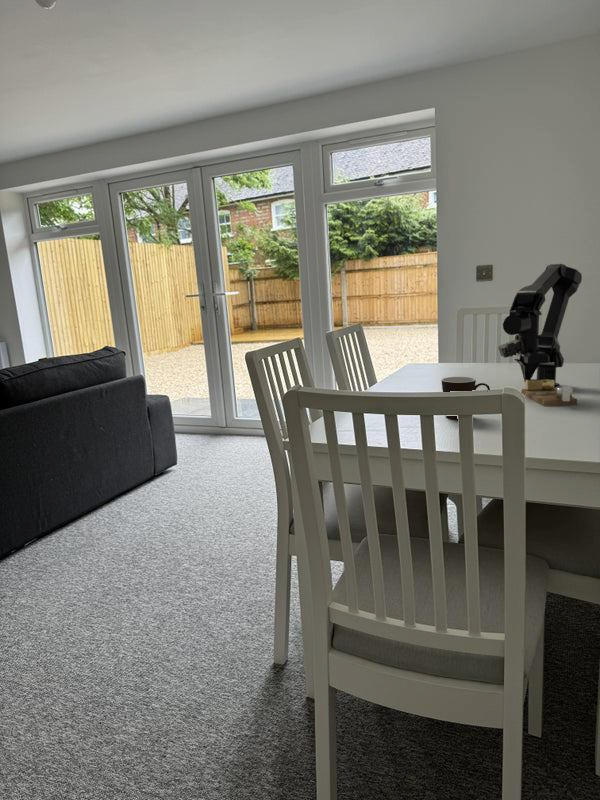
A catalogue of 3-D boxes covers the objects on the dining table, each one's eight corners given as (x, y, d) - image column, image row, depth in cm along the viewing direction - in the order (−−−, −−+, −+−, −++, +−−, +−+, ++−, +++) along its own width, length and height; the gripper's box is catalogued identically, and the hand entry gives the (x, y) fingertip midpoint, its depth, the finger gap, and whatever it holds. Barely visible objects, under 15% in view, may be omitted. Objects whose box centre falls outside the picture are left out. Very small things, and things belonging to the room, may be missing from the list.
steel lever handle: (555, 395, 161) (556, 385, 161) (571, 395, 160) (571, 385, 160) (557, 401, 154) (558, 390, 154) (574, 401, 153) (574, 391, 152)
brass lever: (550, 387, 173) (551, 377, 172) (556, 389, 169) (556, 380, 168) (524, 388, 173) (524, 379, 172) (528, 390, 169) (529, 381, 168)
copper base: (521, 393, 174) (521, 388, 173) (551, 392, 173) (551, 386, 173) (543, 405, 157) (543, 399, 157) (576, 404, 157) (577, 398, 156)
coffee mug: (437, 419, 148) (437, 381, 146) (445, 412, 155) (445, 376, 153) (484, 423, 143) (484, 383, 141) (490, 415, 150) (490, 377, 148)
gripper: (492, 330, 182) (491, 378, 185) (511, 336, 164) (510, 389, 167) (527, 328, 182) (525, 376, 185) (551, 334, 164) (549, 387, 167)
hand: (526, 382), depth 176 cm, fingers closed
